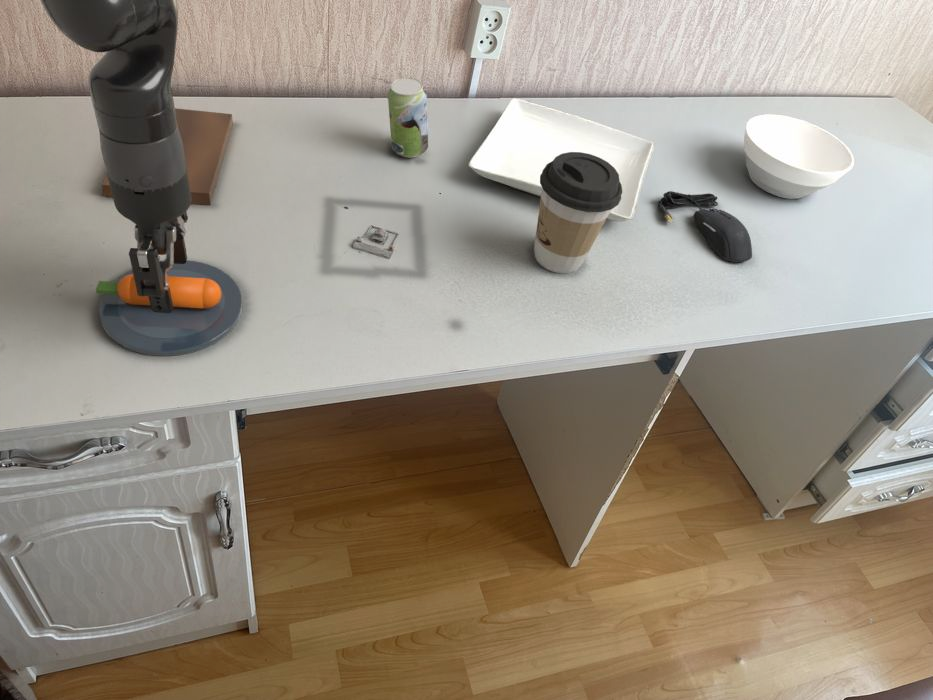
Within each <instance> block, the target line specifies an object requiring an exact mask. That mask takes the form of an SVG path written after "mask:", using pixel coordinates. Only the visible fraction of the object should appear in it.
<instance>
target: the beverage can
mask: <svg viewBox="0 0 933 700" xmlns="http://www.w3.org/2000/svg"><path fill="white" fill-rule="evenodd" d="M427 95H428V94H427V90H426V89H425V88H424V86H423V83H422V82H421V81H420V80H418V79H416V78H412V77H402V78H397V79H395V80H394V81H393V82H391V84H390V88H389V90H388V93H387V103H388V104H387V105H388V117H389V129H390V140H391V141H390V142H391V143H390V144H391V150H392V151H393V152H394V153H395V154H397V155H399V156H401V157H403V158H409V159H411V158H416V157H419V156H421V155H422V154H424V153H425V152H426V151H427V150H428V148H429V130H428V128H429V127H428V125H429V124H428V98H427V97H428V96H427Z"/></svg>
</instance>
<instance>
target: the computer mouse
mask: <svg viewBox="0 0 933 700" xmlns="http://www.w3.org/2000/svg"><path fill="white" fill-rule="evenodd" d="M717 200H718V196H716V195H715V194H713V193H701V194H687V193H686V194H685V193H681V192H677V191H673V190H672V191H671V190H669V191H667V192H664V193H663V196H662V197H661V198H660V200H658V203H657V208H658V210H659V212H660V213H661V215H662V216H663V218H664V219H665V220H666V221H668V222H669V224H673V223H674V221H673V217H672V215H671V214H670V213H669V211H668V210H672V209H676V208H682V207H685V206H690V207H691V206H696V207H697V208H698V210H695V211H694V213H693V216H692V217H693V221H694V224H695V225H696V227H697V228H698V229H699V230H700V231H701V232H702V233H703V235H704V237H705V238H706V240H707V242H708V244H709V246H710V247H711V249H712V250H713V252H714V253H716V255H718V256H719V258H722V259H723V260H725V261H728V262H732V263H743V262H747V261H749V260H751V259H752V258H753V247H752V240H751V236H750V234H749V231H748V229H747V228H746V226H745V225H744V224H743V222H742V221H740V219H738V218H737V217H736V216H734V215H732V214H731V213H729V212H726V211H724V210H722V209H718V208H713V207H717V206H719V202H717ZM702 207H709V208H708V209H706V208H702ZM711 207H712V208H711ZM667 209H668V210H667Z"/></svg>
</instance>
